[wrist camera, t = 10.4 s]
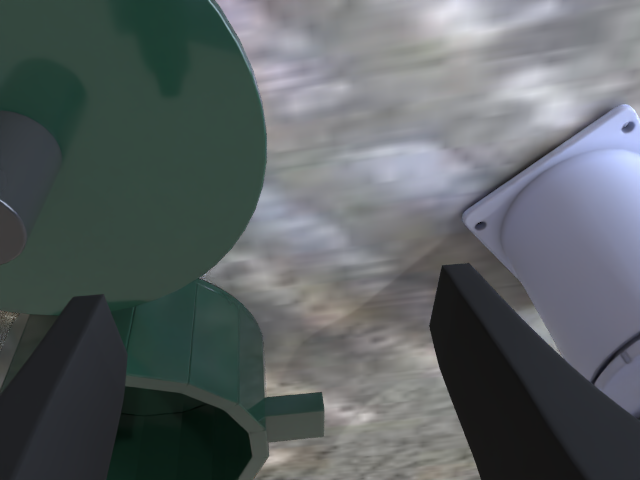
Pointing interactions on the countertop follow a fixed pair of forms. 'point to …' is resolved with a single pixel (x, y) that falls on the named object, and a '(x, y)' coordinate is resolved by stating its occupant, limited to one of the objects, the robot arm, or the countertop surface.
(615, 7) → the countertop surface
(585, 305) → the robot arm
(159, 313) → the pot
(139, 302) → the lid
